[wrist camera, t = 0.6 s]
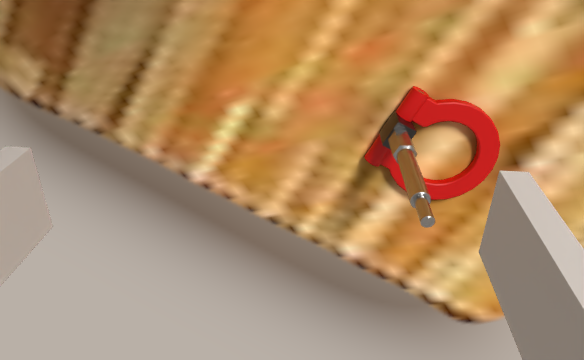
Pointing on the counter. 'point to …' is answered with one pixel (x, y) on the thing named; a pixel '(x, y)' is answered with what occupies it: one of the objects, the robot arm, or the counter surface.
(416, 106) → the tow hook
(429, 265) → the counter surface
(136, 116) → the counter surface
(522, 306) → the robot arm
